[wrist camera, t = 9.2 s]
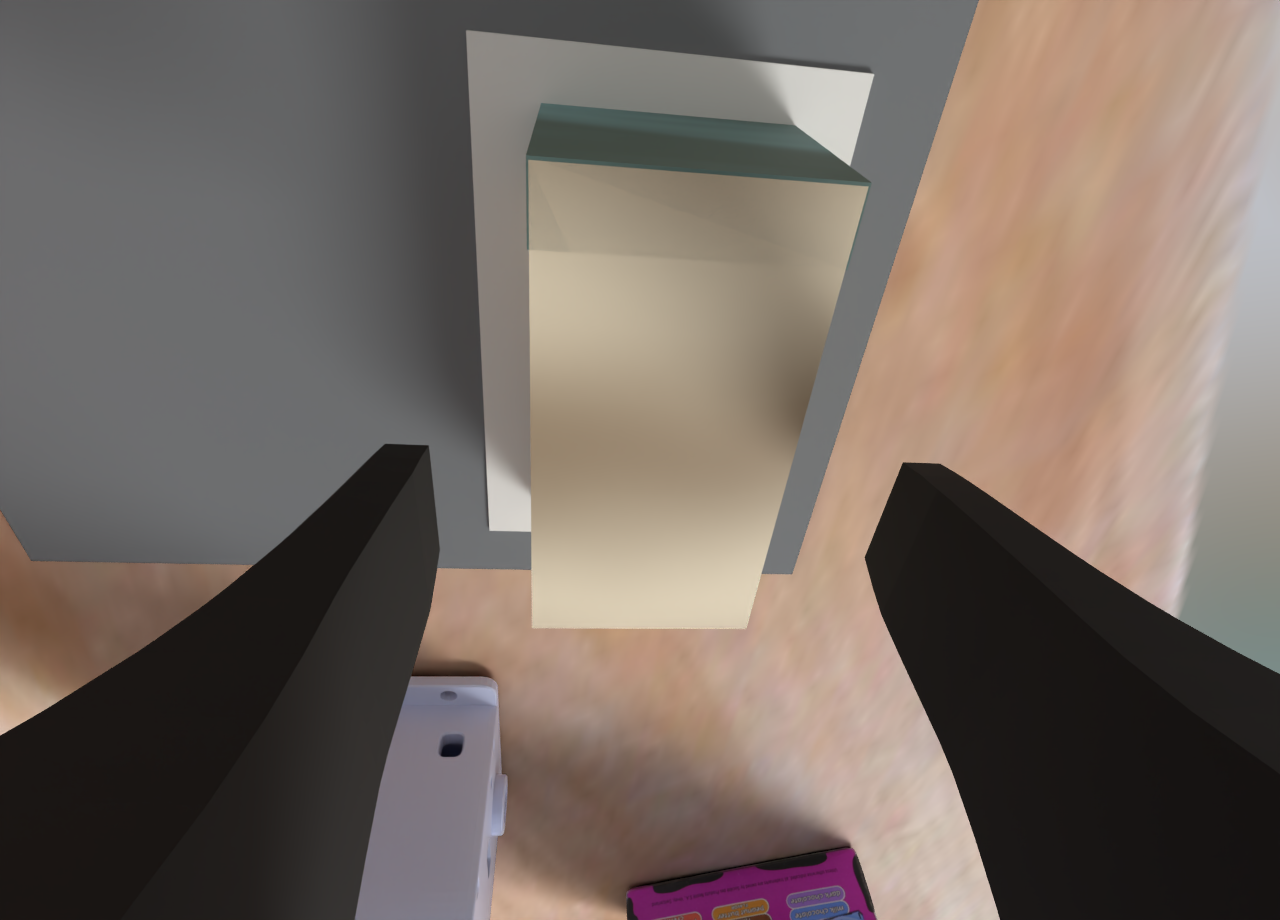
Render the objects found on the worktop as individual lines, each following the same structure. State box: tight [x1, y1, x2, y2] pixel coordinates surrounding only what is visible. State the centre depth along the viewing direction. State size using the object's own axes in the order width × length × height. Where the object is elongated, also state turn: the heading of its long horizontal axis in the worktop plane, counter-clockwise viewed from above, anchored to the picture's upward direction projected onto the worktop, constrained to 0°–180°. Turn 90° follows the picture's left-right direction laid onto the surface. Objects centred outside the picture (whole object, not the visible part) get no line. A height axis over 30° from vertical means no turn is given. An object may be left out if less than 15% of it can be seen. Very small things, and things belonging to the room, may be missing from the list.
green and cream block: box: [526, 103, 872, 629], centre depth 13 cm, size 9×5×4 cm, turn 175°
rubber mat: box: [0, 0, 979, 574], centre depth 14 cm, size 20×14×1 cm
